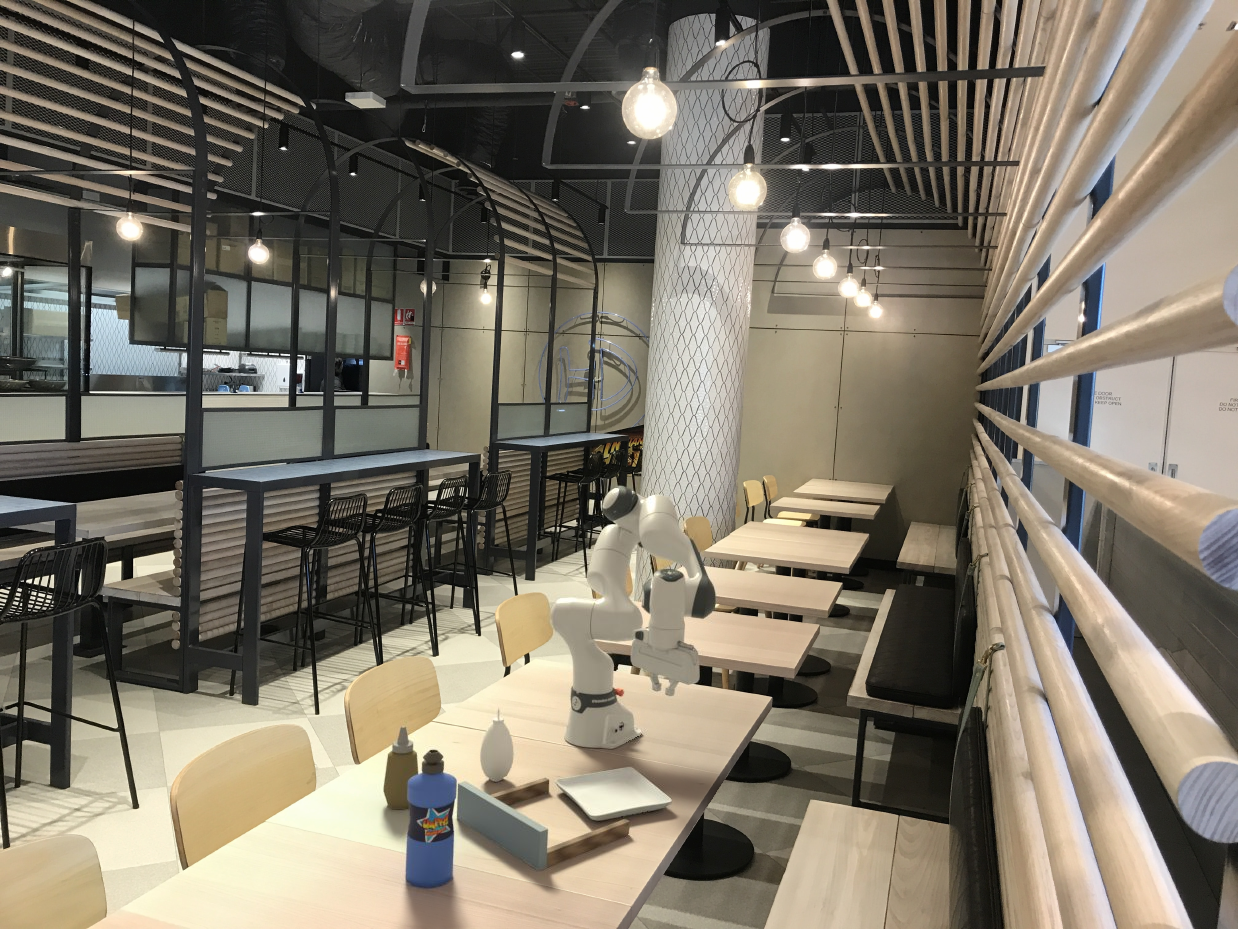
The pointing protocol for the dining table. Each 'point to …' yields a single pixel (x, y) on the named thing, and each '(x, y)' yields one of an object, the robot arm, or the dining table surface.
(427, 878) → the water bottle
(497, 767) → the white dust blower
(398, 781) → the squeeze bottle
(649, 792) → the salad plate
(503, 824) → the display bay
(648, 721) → the dining table surface
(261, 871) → the dining table surface
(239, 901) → the dining table surface
